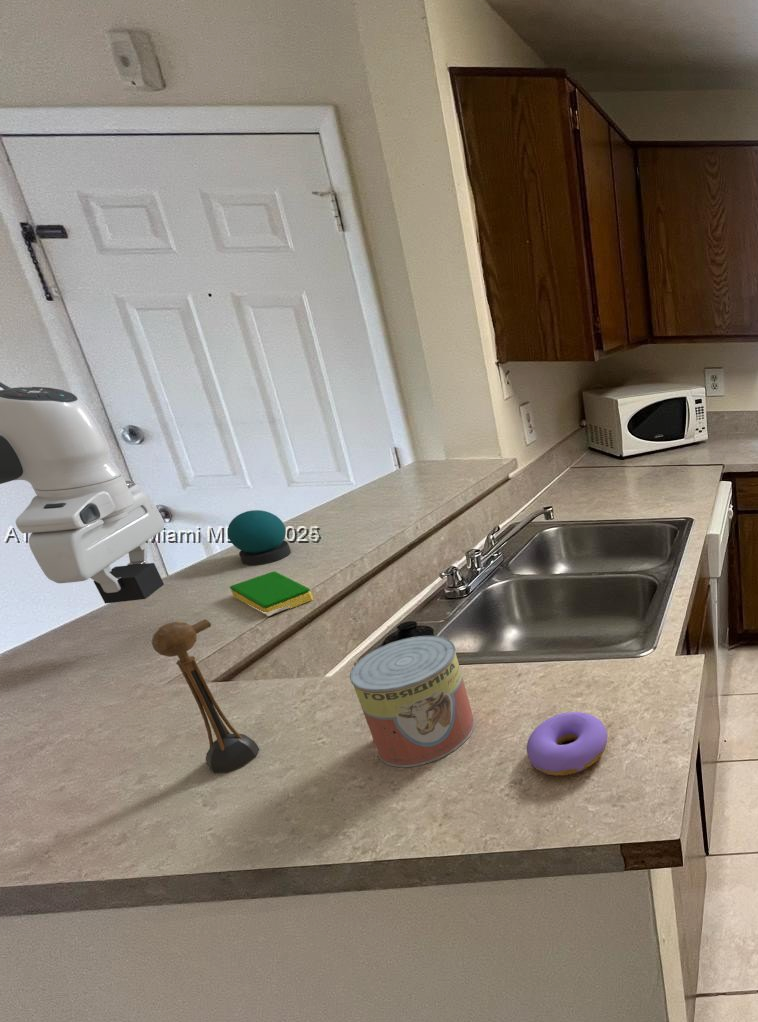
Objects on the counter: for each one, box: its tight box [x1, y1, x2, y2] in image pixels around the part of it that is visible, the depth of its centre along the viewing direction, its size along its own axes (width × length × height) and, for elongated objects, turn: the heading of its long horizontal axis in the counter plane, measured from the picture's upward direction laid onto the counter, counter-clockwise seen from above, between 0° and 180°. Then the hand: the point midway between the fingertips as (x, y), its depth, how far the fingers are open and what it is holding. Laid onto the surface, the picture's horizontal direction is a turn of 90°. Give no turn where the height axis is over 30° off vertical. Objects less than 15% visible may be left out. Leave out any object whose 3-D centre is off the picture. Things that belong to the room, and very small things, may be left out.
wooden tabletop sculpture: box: [150, 619, 260, 774], centre depth 73 cm, size 6×5×20 cm
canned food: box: [349, 635, 476, 768], centre depth 78 cm, size 11×11×12 cm
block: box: [93, 562, 165, 604], centre depth 96 cm, size 5×5×4 cm
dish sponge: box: [229, 571, 314, 612], centre depth 112 cm, size 7×14×2 cm, turn 60°
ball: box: [227, 509, 292, 566], centre depth 126 cm, size 9×9×10 cm
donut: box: [526, 711, 608, 776], centre depth 77 cm, size 10×9×5 cm
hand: (128, 581), depth 96 cm, fingers closed on block, 5 cm apart
